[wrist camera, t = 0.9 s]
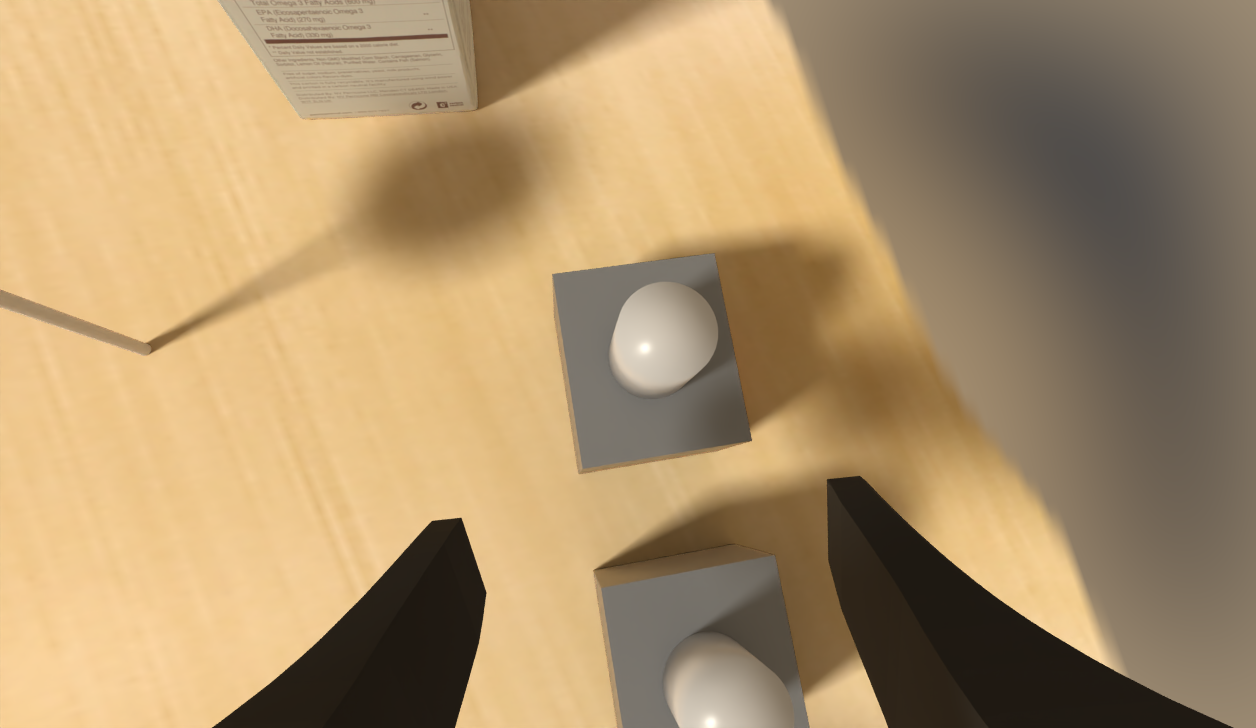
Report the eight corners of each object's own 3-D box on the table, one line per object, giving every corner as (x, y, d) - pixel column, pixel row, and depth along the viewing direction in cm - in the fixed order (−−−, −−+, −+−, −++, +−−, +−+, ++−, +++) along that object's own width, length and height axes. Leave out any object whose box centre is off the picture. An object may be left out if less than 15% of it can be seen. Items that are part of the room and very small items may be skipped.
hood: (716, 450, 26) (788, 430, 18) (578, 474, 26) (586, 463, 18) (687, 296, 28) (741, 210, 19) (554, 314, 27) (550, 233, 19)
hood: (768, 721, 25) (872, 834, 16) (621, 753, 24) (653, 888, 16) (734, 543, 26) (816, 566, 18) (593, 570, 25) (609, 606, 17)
